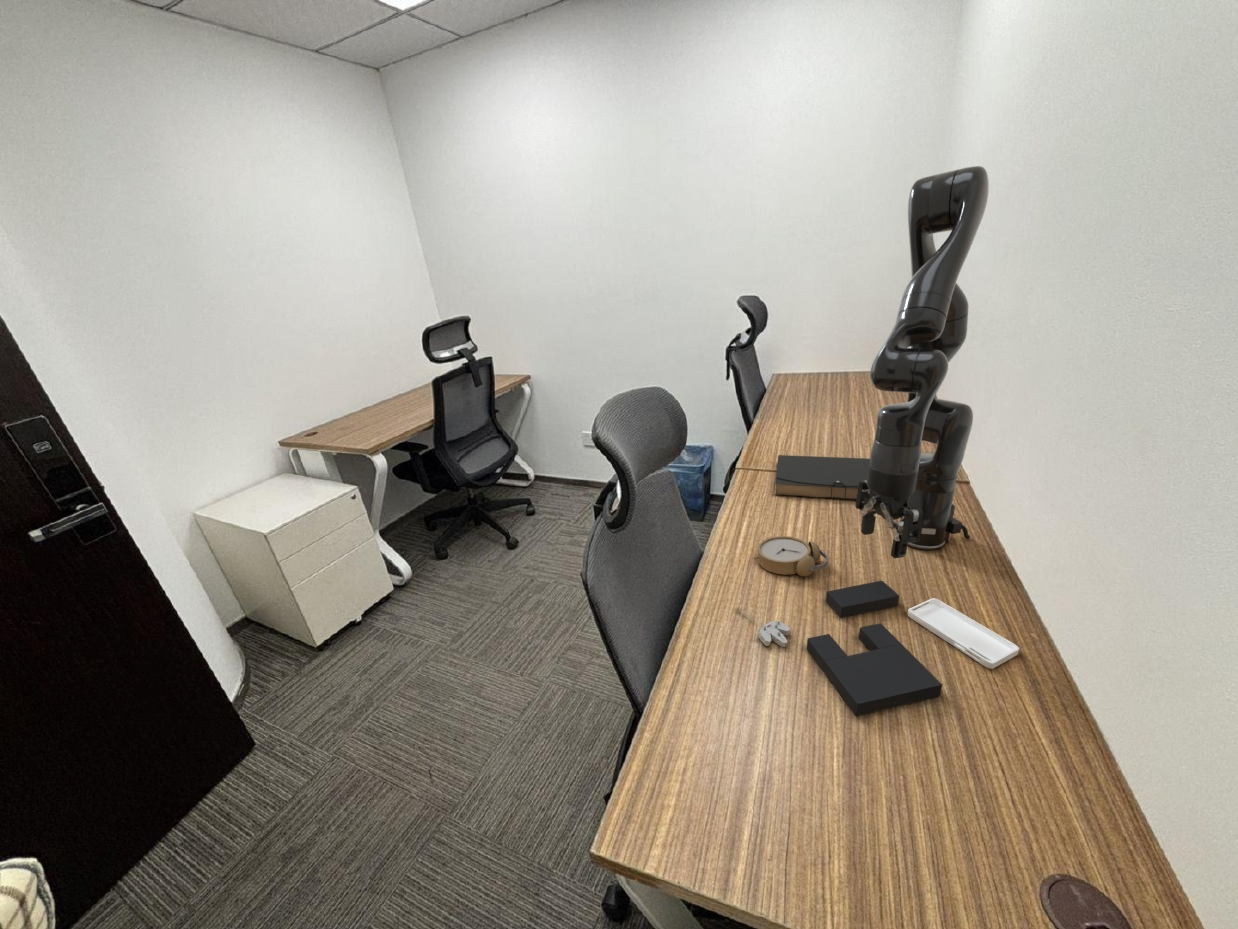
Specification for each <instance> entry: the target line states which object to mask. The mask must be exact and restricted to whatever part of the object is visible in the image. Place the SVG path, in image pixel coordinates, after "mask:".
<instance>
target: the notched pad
mask: <svg viewBox="0 0 1238 929" xmlns="http://www.w3.org/2000/svg"><path fill="white" fill-rule="evenodd" d="M857 638H858V640H859V642H861V643H862V645H863V646H864V647H865V648H866V649H867V650H868V651H864V652H859V653H855V654H849V655H847V653H846V652H845V651H844V649H843V648H841V646H840V645H839V644H838V643H837V641H836V640H835V639H834V637H833V636H832V635H831V634H830V633H826V634H822V635H817V636H812V637H808V638H807V640H806V651H807V652H808V653H809V655H810V656H811V658H812V659H813V660H814V662H815V663H816V664H817V666H818V667H819V668H820V670H821V671H822V672H823V673H824V675H825V677H826V678H827V679H828V681H829V682H830V683H831V685H832V686H833V687H834V689H835V690H836V691H837V693H838V694H839V695H840V697H841V698H842V699H843V702H845V703H846V705H847V706H848V708H849V710H851V711H852V713H853V714H854V716H855V717H858V716H863V715H867V714H871V713H876V712H879V711H880V712H881V711H884V710H888V709H892V708H897V707H901V706H905V705H910V704H914V703H919V702H923V701H927V700H931V699H935V698H939V697H940V696H941V693H942V689H943V684H942V683H941V681H940V680H939V679H938V678H937V677H935V676H934V674H932V673H931V672H930V671H929V670H928V669H927V667H926V666H924V664H922V663H921V661H920V660H919V659H917V658H916V657H915V656H914V655H913V654H912V652H910V651H909V649H908V648H906V647H905V645H903V644H902V643H901V642H900V641H899V639H898V638H896V636H894V635H893V634H892V632H890V631H889V630H888V628H886V627H885V626H884V625H883V623H881V622H880V623H874V624H869V625H864V626H860V627H859V631H858V637H857Z"/></svg>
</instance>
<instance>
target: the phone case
mask: <svg viewBox="0 0 1238 929" xmlns="http://www.w3.org/2000/svg"><path fill="white" fill-rule="evenodd" d="M907 617H909V619H911V620H912V621H915V623H917V624H919V625H921V626H922V627H923V628H925V629H926V630H928V631H930V632H931V633H933V634H934V635H936V636H937V637H939V638H941V639H942V640H943V641H945V642H946V643H948V644H950V645H951V646H953V647H954V648H955V649H957V650H958V651H960V652H962V653H963V654H965V655H966V656H968V657H970V658H971V659H972V660H974V661H975V662H977V663H979V664H980V665H982V666H983V667H985V668H987V669H990V670H993V669H995V668H996V667H999V666H1000V665H1002V664H1004V663H1006V662H1007V661H1010V660H1011V659H1013V658H1014V657H1016V656H1018V655H1019V652H1020V646H1018V645H1017V644H1015V643H1014V642H1012V641H1010V640H1008V639H1007V638H1005V637H1004V636H1001V635H1000V634H998V633H996V632H995V631H993V630H992V629H990V628H988V627H987V626H984V625H983V624H981V623H979V622H977V621H976V620H974V619H973V618H971V617H969V616H968V615H965V614H964V613H962V612H961V611H959V610H957V609H955V608H954V607H952V606H950V605H949V604H947V603H945V602H944V601H941V600H940V599H938V598H935V597H931V598H929V599H927V600H925V601H923V602H920V603H919V604H916V605H914V606H912V607H909V608H908V610H907Z"/></svg>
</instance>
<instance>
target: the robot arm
mask: <svg viewBox="0 0 1238 929" xmlns="http://www.w3.org/2000/svg"><path fill="white" fill-rule="evenodd" d="M989 186H990V184H989V175H988V172H987V170H986V168H985V167H984V166H981V165H974V166H967V167H963V168H959V169H955V170H950V171H945V172H941V173H937V174H933V175H929V176H925V177H921V178H919V179H917V180H916V181H915V182H913V184H912V186H911V188H910V191H909V195H908V200H907V226H908V240H909V255H910V270H911V272H910V273H911V274H910V275H911V278H910V280H909V281H908V284H907V285H906V286H905V288H904V291H903V294H902V296H901V300H900V304H899V307H898V312H897V314H896V315H897V316H896V319H895V323H894V325H893V327H892V329H891V332H890V333H889V335H888V337H887V338H886V340H885V342H884V343H883V345H882V346H881V347H880V350H879V351H878V353H877V354H876V355H875V358H874V359H873V361H872V363H871V367H870V370H869V371H870V372H869V376H870V377H869V378H870V381H871V383H872V385H873V387H874V388H875V389H877V390H879V391H882V392H892V393H894V392H895V393H906V394H907V401H906V402H899V403H890V404H886V405H883V406H882V407H881V408H879V410H878V413H877V416H876V424H875V432H874V440H873V443H872V445H871V446H872V447H871V450H870V456H869V459H870V463H869V471H868V478H867V481H861V482H859V486H858V492H857V498H856V500H855V509H856V510H859V511H860V515H861V516H862V517H861V525H860V528H861V530H860V532H861V534H862V535H864V536H867V535H872V534H874V532H875V525H876V519H877V516H876V515H878V516H881V518H882V519H884V520H885V522H886V525H887V527H888V529H890V530H891V533H892V536H893V539H892V544H891V550H890V556H891V557H892V558H893V559H900V558H904V557H905V556H906V555H907V551H908V550H907V549H908V547H910V548H913V549H917V550H923V551H935V550H936V551H937V550H939V549H942V548H943V547H944V546H945V544H948V543H949V540H950V535H955V534H961V531H962V533H963V534H962V535H963V537H964V538H965V539H966V540H970V539H971V536H970V534H969V531H968V528H967V527H966V526H965V525H964V524H963V522H962V521H960V520H958V519H956V518H955V517H954V514H955V511H956V506H955V504H954V503H953V500H954V496H955V490H956V485H957V481H958V475H959V470H960V468H961V467H962V466H961V465H962V463H963V461H964V458H965V455H966V449H967V446H968V442H969V439H970V435H971V432H972V427H973V422H974V411H973V409H972V408H971V406H970V405H969V404H966V403H963V402H957V401H953V400H948V399H943V398H942V399H941V398H938V395H937V394H938V392H939V390H940V388H941V386H942V385H943V382H944V381H945V379H946V377H947V374H948V371H949V363H950V362H951V361H952V359H954V358H955V356H956V355H957V354H958V352H959V351H960V350H961V348H962V347H963V345H964V343H965V341H966V339H967V335H968V324H969V302H968V301H969V300H968V298H967V297H966V295H965V292H964V291H963V290H962V288H961V287H960V285H959V284H958V283H957V281H958V279H959V276H960V274H961V271H962V269H963V266H964V265H965V262H966V259H967V257H968V254H969V253H970V250H971V248H972V245H973V242H974V240H975V238H976V235H977V234H978V230H979V228H980V225H981V223H982V220H983V218H984V214H985V213H986V208H987V204H988V199H989V190H990V189H989V188H990V187H989ZM944 232H950V233H949V235H948V237H947V238H946V239H945V240H944V242H943V243H942V244H941V245H940V247H939V248H938V249H937V248H936V245H935V240H934V234H938V233H944ZM922 441H924V442H927V443H931V444H934V445H936V448H935V451H929V452H922ZM863 499H865V501H863ZM895 520H899V522H895Z"/></svg>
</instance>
